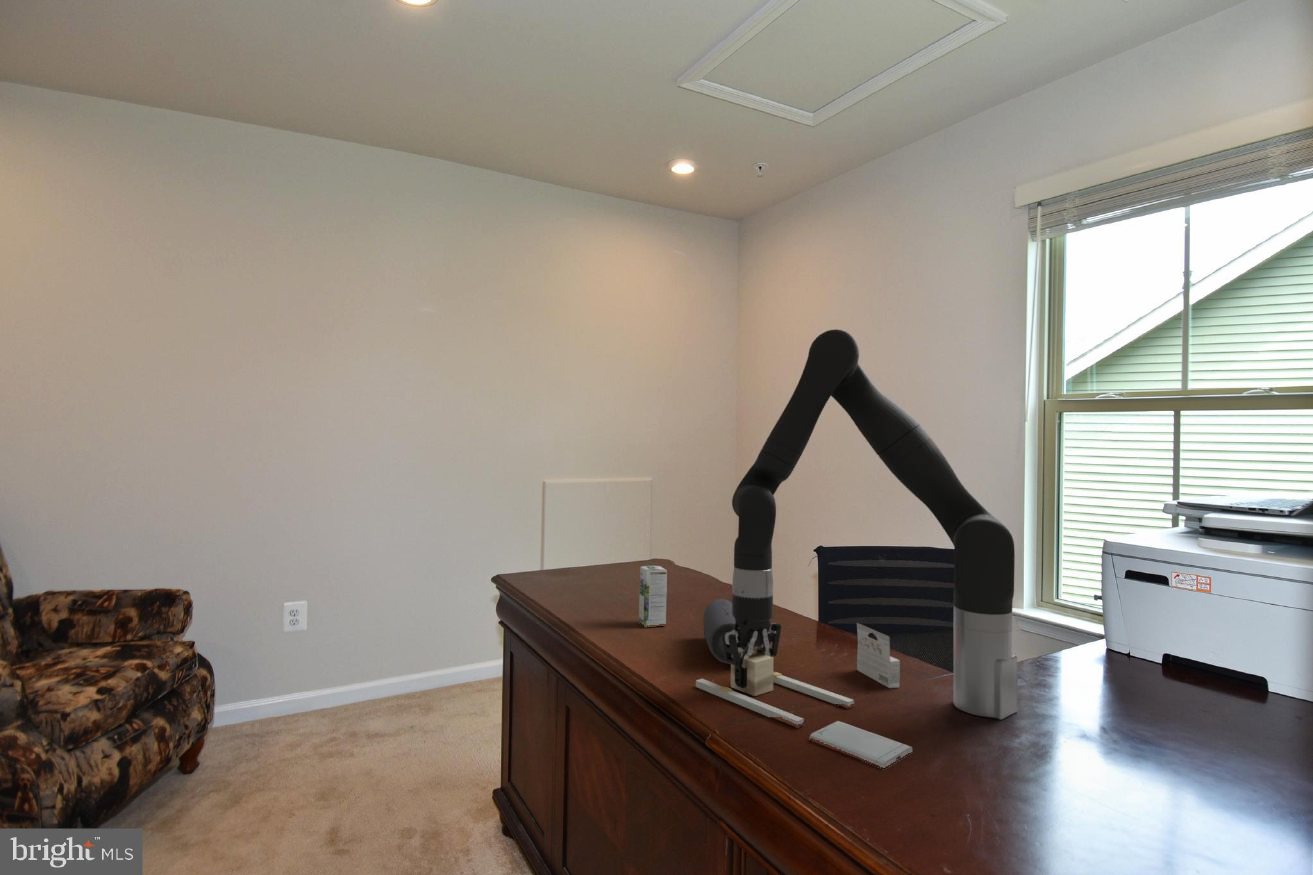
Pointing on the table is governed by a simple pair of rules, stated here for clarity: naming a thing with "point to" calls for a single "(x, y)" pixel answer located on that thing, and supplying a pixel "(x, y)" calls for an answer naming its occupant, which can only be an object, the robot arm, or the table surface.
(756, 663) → the block
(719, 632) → the bluetooth speaker
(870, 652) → the ink cartridge box
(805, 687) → the slot rails
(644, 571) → the syrup box
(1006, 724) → the table surface
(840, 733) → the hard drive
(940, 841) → the table surface
